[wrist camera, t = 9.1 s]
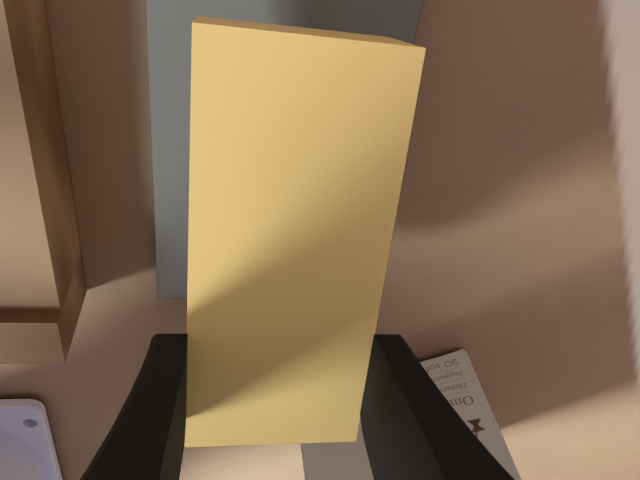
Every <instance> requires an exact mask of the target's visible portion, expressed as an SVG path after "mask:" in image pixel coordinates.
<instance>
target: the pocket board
mask: <svg viewBox="0 0 640 480" xmlns="http://www.w3.org/2000/svg"><path fill="white" fill-rule="evenodd" d="M85 295H86V284H85V277H84V270H83V263H82V256H81V249H80V242H79V235H78V228H77V221H76V214H75V207H74V200H73V193H72V186H71V179H70V172H69V165H68V158H67V151H66V144H65V137H64V131H63V124H62V117H61V110H60V103H59V96H58V89H57V82H56V75H55V68H54V61H53V54H52V47H51V40H50V33H49V26H48V19H47V12H46V5H45V0H0V364H16V363H65V362H66V358H67V355H68V352H69V348H70V345H71V342H72V338H73V335H74V332H75V328H76V325H77V321H78V318H79V315H80V311H81V308H82V305H83V301H84V298H85Z"/></svg>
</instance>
